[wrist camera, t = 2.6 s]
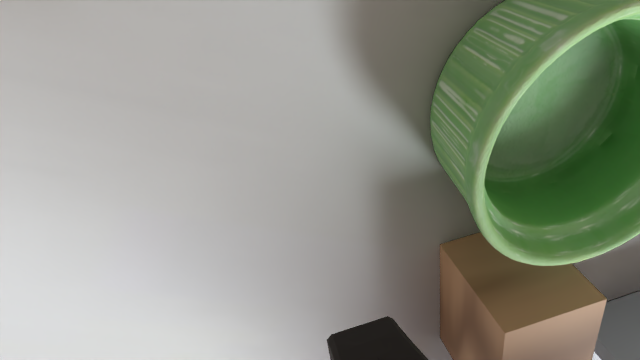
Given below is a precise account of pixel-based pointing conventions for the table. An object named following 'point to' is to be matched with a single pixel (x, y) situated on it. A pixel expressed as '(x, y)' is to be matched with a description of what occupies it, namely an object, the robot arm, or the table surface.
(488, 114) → the ramekin
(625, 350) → the grey u-shaped wall
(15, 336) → the table surface
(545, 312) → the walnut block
